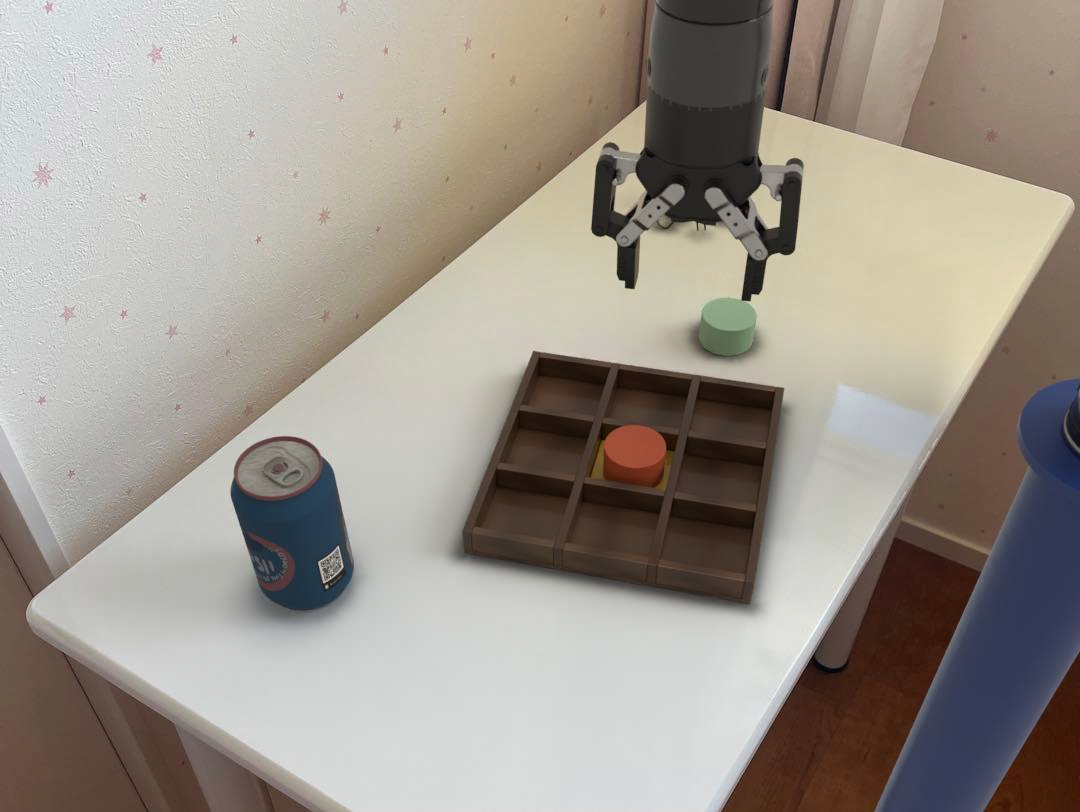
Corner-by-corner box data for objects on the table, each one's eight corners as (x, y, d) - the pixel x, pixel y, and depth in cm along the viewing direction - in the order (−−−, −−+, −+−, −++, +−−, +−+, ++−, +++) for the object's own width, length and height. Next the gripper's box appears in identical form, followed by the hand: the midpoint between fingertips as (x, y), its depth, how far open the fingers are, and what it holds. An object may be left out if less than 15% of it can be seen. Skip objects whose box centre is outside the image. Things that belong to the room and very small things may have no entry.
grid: (780, 409, 93) (784, 387, 91) (750, 604, 79) (754, 583, 77) (533, 372, 96) (533, 350, 95) (464, 552, 83) (461, 531, 81)
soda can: (241, 586, 81) (201, 470, 72) (312, 532, 84) (283, 415, 75) (305, 635, 78) (272, 520, 69) (376, 576, 81) (353, 460, 72)
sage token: (755, 326, 100) (759, 301, 98) (749, 359, 97) (753, 334, 95) (702, 319, 101) (705, 294, 99) (695, 351, 98) (698, 326, 96)
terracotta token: (668, 455, 88) (671, 429, 86) (658, 497, 85) (660, 472, 83) (609, 446, 89) (610, 420, 87) (597, 487, 86) (598, 462, 84)
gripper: (826, 55, 71) (789, 269, 83) (606, 39, 73) (602, 250, 85) (819, 112, 66) (782, 331, 78) (584, 93, 68) (583, 308, 80)
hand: (688, 288), depth 81 cm, fingers open, 8 cm apart
